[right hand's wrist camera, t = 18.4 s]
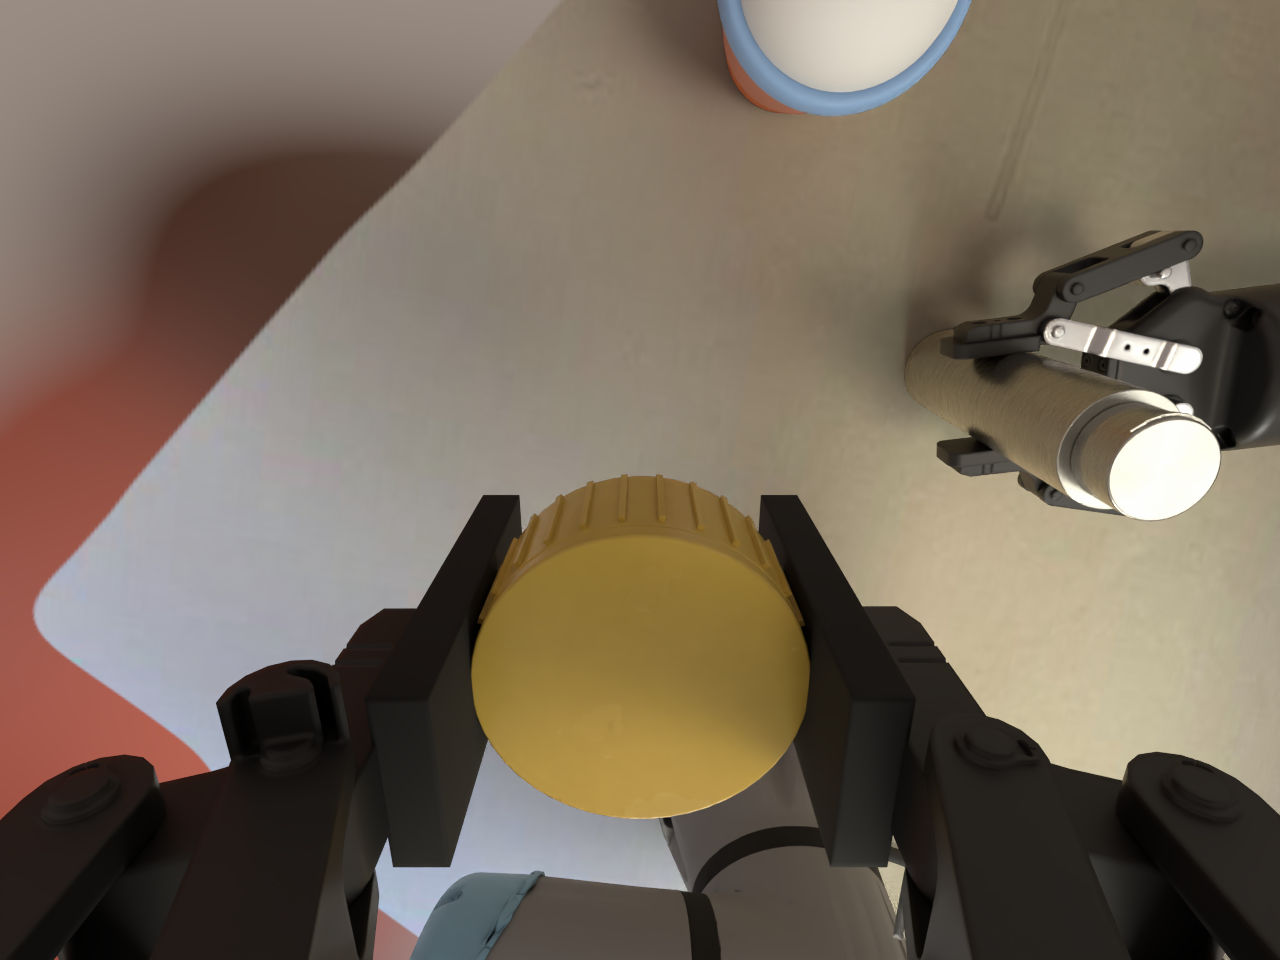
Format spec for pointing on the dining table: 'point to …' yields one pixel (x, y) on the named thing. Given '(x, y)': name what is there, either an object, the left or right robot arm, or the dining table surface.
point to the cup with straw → (834, 50)
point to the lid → (640, 651)
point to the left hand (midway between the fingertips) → (946, 403)
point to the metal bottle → (1073, 428)
